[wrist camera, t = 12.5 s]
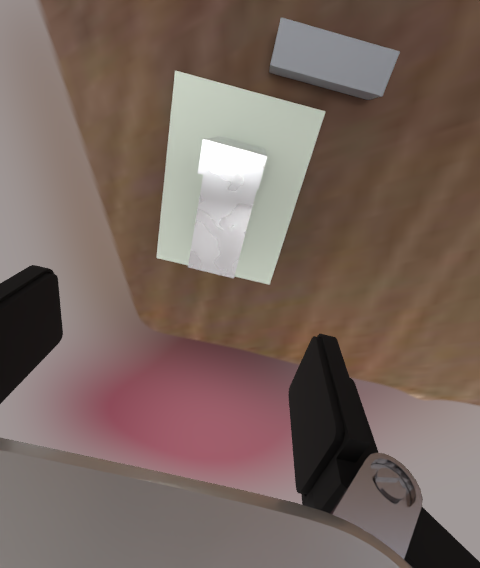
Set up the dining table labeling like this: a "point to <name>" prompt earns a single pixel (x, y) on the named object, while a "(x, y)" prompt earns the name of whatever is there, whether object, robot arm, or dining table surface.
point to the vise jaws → (331, 60)
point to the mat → (247, 129)
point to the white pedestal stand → (224, 203)
